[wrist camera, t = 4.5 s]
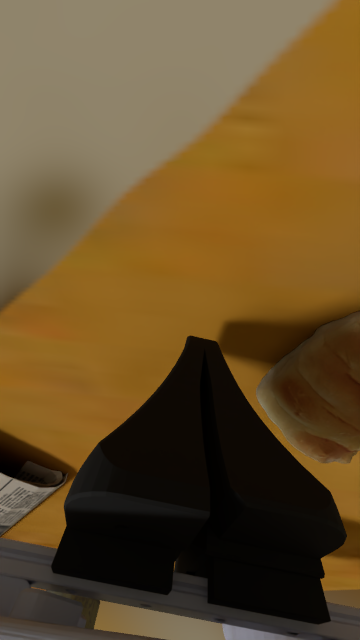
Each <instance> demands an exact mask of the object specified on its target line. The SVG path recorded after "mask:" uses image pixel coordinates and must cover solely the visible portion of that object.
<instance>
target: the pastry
mask: <svg viewBox="0 0 360 640" xmlns="http://www.w3.org/2000/svg"><path fill="white" fill-rule="evenodd" d="M256 395H257V399H258V401H259V403H260V404H261V406H262V407H263V408H264V410H265V411H266V412H267V415H268V417H269V418H270V419H271V420H272V422H273V423H275V424H276V425H277V426H278V427H279V428H280V430H281V431H282V433H283V435H284V436H285V438H286V439H287V441H288V442H289V443H290V444H291V445H292V446H293V447H295V448H296V449H297V450H299V451H301V452H302V453H303V454H305V455H306V456H308V457H310V458H312V459H314V460H316V461H318V462H320V463H330V462H333V461H336V462H339V463H345V464H347V463H350V461H351V459H352V456H354V455H356V454H357V451H360V311H358V312H355V313H352V314H350V315H348V316H346V317H344V318H342V319H339V320H335V321H332V322H329V323H327V324H325V325H322V326H321V327H319V328H318V329H317V330H316V331H315V333H314V335H313V336H312V337H310V338H308V339H307V340H305V341H304V342H303V343H301V344H300V345H299V346H298V347H297V348H295V349H294V350H293V351H292V352H290V353H289V354H287V355H285V356H284V357H283V358H282V359H281V360H280V361H279V362H278V363H277V364H276V365H275V366H274V367H273V368H271V369H270V371H269V372H268V373H267V374H266V376H265V377H263V378H262V380H261V382H260V384H259V385H258V387H257V389H256Z"/></svg>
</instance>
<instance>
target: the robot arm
mask: <svg viewBox="0 0 360 640" xmlns="http://www.w3.org/2000/svg"><path fill="white" fill-rule="evenodd" d="M64 511H65V517H66V524H67V526H66V529H65V531H64V534H63V536H62V539H61V542H60V544H59V547H58V549H56V548H51V547H45V546H40V545H35V544H30V543H25V542H20V541H15V540H10V539H5V538H0V640H165V639H158V638H151V637H145V636H138V635H131V634H124V633H117V632H109V631H103V630H95V629H89V628H85V625H86V618H85V616H84V615H82V610H83V605H82V603H81V602H78V601H75V600H72V599H69V598H66V597H63V596H60V595H57V594H54V593H50V592H47V591H44V590H40V589H45V590H51V591H56V592H61V593H66V594H71V595H76V596H82V597H87V598H92V599H97V600H102V601H108V602H113V603H118V604H123V605H129V606H134V607H139V608H144V609H150V610H154V611H159V612H165V613H170V614H175V615H180V616H185V617H191V618H196V619H201V620H206V621H211V622H216V623H222V626H223V632H224V636H225V640H360V608H354V607H350V606H345V605H339V604H334V603H329V602H326V600H325V596H324V592H323V588H322V585H321V581H320V578H321V579H322V578H324V575H325V573H324V569H323V566H322V562H321V558H322V557H324V556H326V555H328V554H329V553H331V552H333V551H335V550H336V549H338V548H339V547H341V546H342V545H343V544H344V542H345V540H346V537H347V535H346V532H345V529H344V526H343V523H342V520H341V517H340V514H339V512H338V509H337V506H336V504H335V502H334V499H333V497H332V495H331V492H330V491H329V490H328V489H327V488H326V487H325V486H324V485H322V484H321V483H320V482H319V481H318V480H317V479H316V478H315V477H314V476H313V475H312V474H311V473H310V472H309V471H308V470H306V469H305V468H304V467H303V466H302V465H301V464H300V463H299V462H298V461H297V460H296V459H295V458H294V457H293V455H292V454H291V453H290V452H289V451H288V450H287V449H286V448H285V447H284V446H283V445H282V444H281V443H280V442H279V440H278V439H277V438H276V437H275V436H274V435H273V433H272V432H271V431H270V430H269V429H268V427H267V426H266V425H265V424H264V423H263V421H262V420H261V419H260V417H259V416H258V415H257V413H256V412H255V411H254V409H253V408H252V406H251V405H250V404H249V402H248V401H247V399H246V398H245V396H244V394H243V393H242V391H241V389H240V388H239V386H238V384H237V382H236V381H235V379H234V377H233V375H232V373H231V371H230V369H229V367H228V365H227V363H226V361H225V359H224V357H223V355H222V352H221V350H220V348H219V345H218V343H217V342H216V341H212V340H208V339H203V338H199V337H194V336H188V337H187V340H186V343H185V347H184V350H183V352H182V354H181V356H180V357H179V359H178V361H177V363H176V364H175V366H174V367H173V369H172V370H171V372H170V373H169V375H168V376H167V378H166V379H165V380H164V382H163V383H162V384H161V385H160V387H159V388H158V389H157V390H156V391H155V392H154V394H153V395H152V396H151V397H150V398H149V399H148V400H147V401H146V402H145V403H144V404H143V405H142V406H141V407H140V408H139V409H138V410H137V411H136V412H135V413H134V414H133V415H132V416H131V417H129V418H128V419H127V420H126V421H125V422H124V423H123V424H122V425H120V426H119V427H118V428H117V429H115V430H114V431H113V432H112V433H110V434H109V435H108V436H107V437H105V438H104V439H103V440H102V441H100V442H99V443H98V444H97V446H96V447H95V448H94V450H93V451H92V452H91V454H90V455H89V456H88V458H87V459H86V461H85V462H84V464H83V465H82V467H81V468H80V470H79V472H78V473H77V475H76V477H75V479H74V481H73V483H72V486H71V488H70V490H69V493H68V495H67V497H66V500H65V503H64ZM175 561H176V562H175ZM174 562H175V569H174ZM173 571H174V572H173ZM31 587H35V588H40V589H34V588H31Z"/></svg>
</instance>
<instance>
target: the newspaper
mask: <svg viewBox="0 0 360 640" xmlns="http://www.w3.org/2000/svg"><path fill="white" fill-rule="evenodd" d="M67 476H68V473H67V474H66V475H65V476H64V477H62V472H61V471H53V470H49V469H47V468H45V467H42V466H40V465H37V464H35V463H33V462H30V461H27V462H26V463H25V465H24V466H23V467H22V469H21V470H20V471H19V473H18V474H17V475H16V476H15V478H11V477H9V476H6V475H4V474H2V473H0V536H1V535H2V534H3V533H4V532H6V531H7V530H8V529H9V528H11V527H12V526H13V525H14V524H15V523H17V522H18V521H19V520H20V519H21V518H23V517H24V516H25V515H26V514H28V513H29V512H30V511H31V510H32V509H34V508H35V507H36V506H37V505H38V504H40V503H41V502H42V501H43V500H45V499H46V498H47V497H48V496H49V495H51V494H52V493H53V492H54V491H55V490H57V489H58V488H59V487H60V486H62V485H63V484H64V483H65V482H66V479H67Z"/></svg>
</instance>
